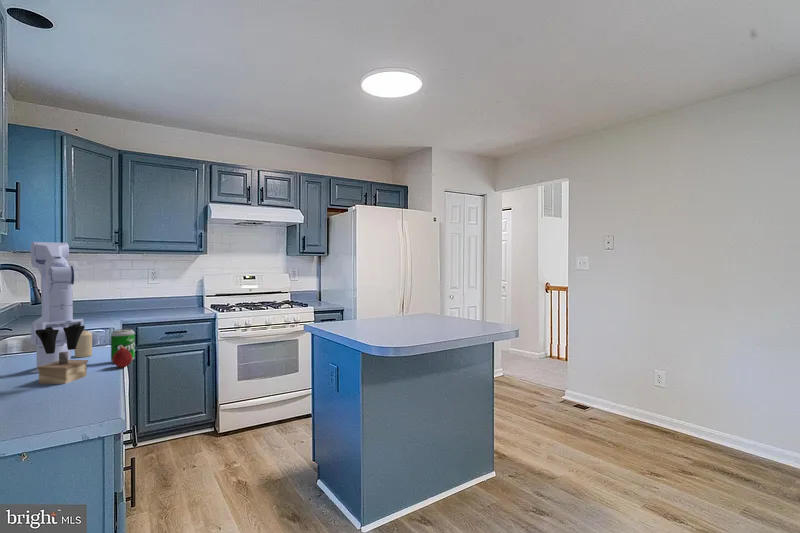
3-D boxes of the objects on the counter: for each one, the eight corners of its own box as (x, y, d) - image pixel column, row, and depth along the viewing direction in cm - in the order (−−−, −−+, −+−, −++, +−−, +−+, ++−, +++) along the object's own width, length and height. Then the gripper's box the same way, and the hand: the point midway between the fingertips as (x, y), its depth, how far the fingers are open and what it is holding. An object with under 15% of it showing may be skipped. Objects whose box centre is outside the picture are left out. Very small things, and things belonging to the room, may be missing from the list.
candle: (91, 356, 170) (92, 331, 170) (74, 358, 167) (74, 332, 167) (92, 354, 175) (92, 329, 175) (75, 355, 172) (75, 330, 172)
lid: (61, 363, 141) (61, 349, 141) (88, 363, 141) (88, 349, 141) (37, 370, 131) (37, 355, 131) (65, 371, 131) (65, 355, 131)
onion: (135, 366, 155) (135, 344, 155) (126, 370, 150) (126, 347, 149) (119, 366, 155) (119, 344, 155) (108, 370, 149) (108, 347, 149)
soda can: (108, 365, 157) (109, 332, 157) (113, 360, 164) (113, 329, 164) (133, 363, 160) (133, 331, 160) (136, 359, 167) (136, 328, 167)
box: (61, 377, 141) (61, 361, 141) (86, 377, 141) (86, 362, 141) (38, 385, 132) (38, 368, 132) (65, 385, 132) (65, 369, 132)
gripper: (52, 306, 123) (52, 354, 122) (92, 304, 137) (92, 347, 137) (29, 307, 124) (29, 355, 123) (71, 305, 138) (71, 348, 137)
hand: (61, 351), depth 130 cm, fingers open, 7 cm apart
